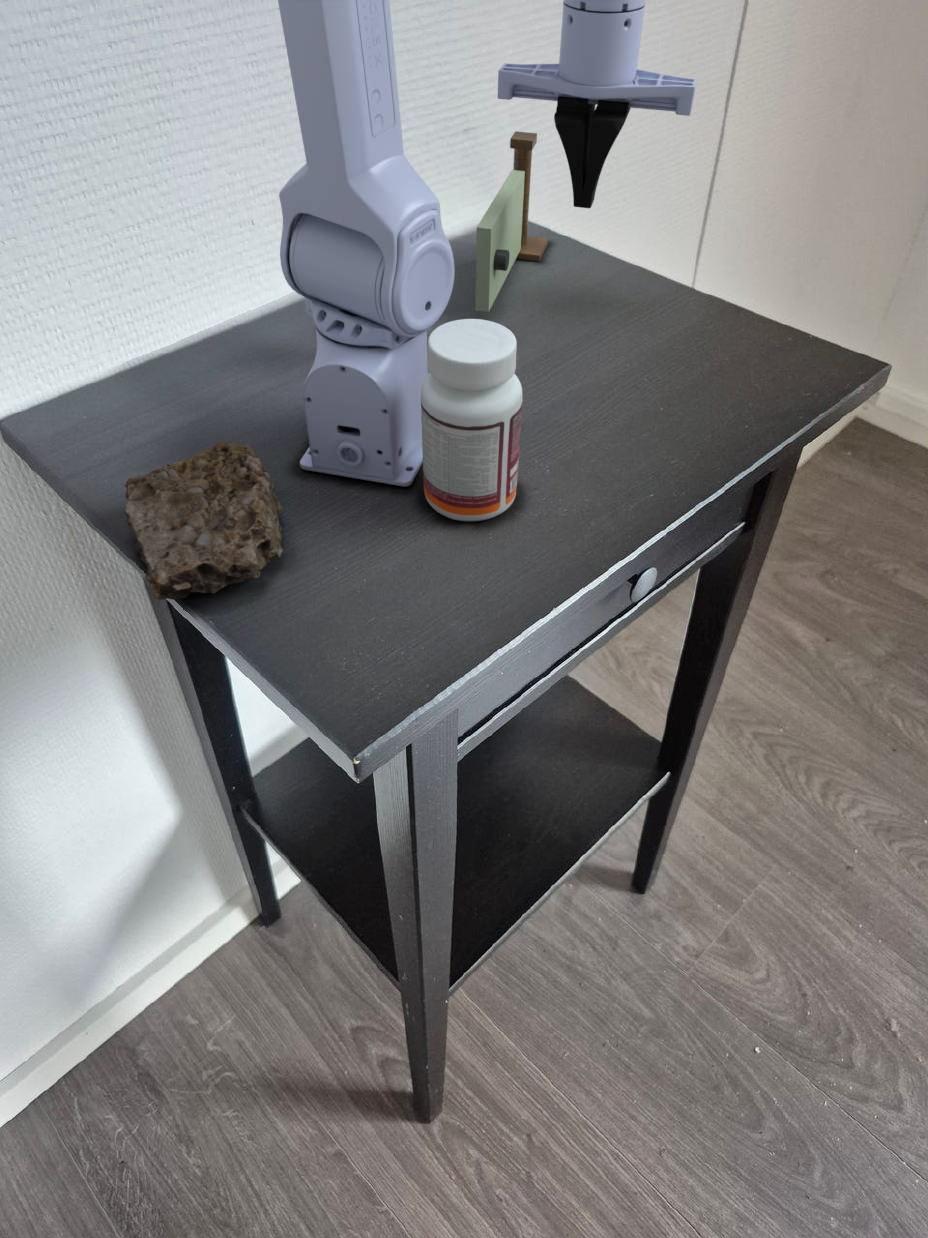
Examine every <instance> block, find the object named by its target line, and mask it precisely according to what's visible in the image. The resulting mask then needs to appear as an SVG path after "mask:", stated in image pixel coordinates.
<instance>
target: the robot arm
mask: <svg viewBox="0 0 928 1238" xmlns="http://www.w3.org/2000/svg"><path fill="white" fill-rule="evenodd" d="M646 2H647V1H646V0H563V3H562V5H563V6H562V16H561V17H562V18H561V29H560V30H561V31H560V44H559V56H558V63H503V64H502V65H501V67H499V69H498V71H497V73H498V74H497V99H498V100H509V101H510V100H512V99H513V98H519V99H530V100H540V101H541V100H542V101H552V102H556V109H555V112H554V115H553V120H554V125H555V129H556V132H557V134H558V136H559V139H560V141H561V144H562V147H563V149H564V153H565V156H566V161H567V165H568V168H569V173H570V174H569V175H570V179H571V185H572V196H573V208H574V207H575V208H582V209H591V208H592V206H593V204H594V201H595V197H596V191H597V187H598V184H599V180H600V177H601V174H602V171H603V167H604V165H605V163H606V160H607V157H608V155H609V153H610V152H611V149H612V147H613V145H614V143H615V142H616V139H617V138H618V136H619V134H620V132H621V130H622V129H623V127H624V125H625V123H626V120H627V119H628V116H629V113H630V111H631V109H643V110H652V111H653V110H654V111H664V112H675V115H678V116H687V117H690V116H691V114H692V111H693V105H694V102H695V101H694V99H695V94H696V89H697V83H698V79H697V78H689V77H681V76H675V75H669V74H664V73H658V72H653V71H648V70H643V69H638V61H639V53H640V48H641V47H640V46H641V39H642V38H641V37H642V31H643V22H644V14H645V7H646ZM277 3H278V8H279V15H280V20H281V25H282V26H281V27H282V32H283V37H284V42H285V48H286V55H287V59H288V65H289V71H290V76H291V77H290V78H291V82H292V88H293V94H294V99H295V103H296V104H295V106H296V111H297V115H298V122H299V127H300V133H301V139H302V144H303V145H302V146H303V150H304V155H305V161H306V163H305V164H304V165H302V166H301V167H300V169H298V170H297V171H295V173H294V174H293V175H291V177H290V178H289V180H287V182H286V183H285V184H284V186H283V187H282V188H281V189H280V191H279V193H278V197H279V202H280V207H281V214H282V215H281V216H282V230H281V238H280V244H279V245H280V248H279V258H280V259H279V260H280V267H281V271H282V273H283V277H284V279H285V281H286V283H287V284H288V286H289V287H290V289H291V290H292V291H294V292H295V293H297V294H298V295H299V296H302V297H303V298H304V306H305V314H306V315H307V316H309V317H311V318H312V319H313V321H314V326H315V334H316V335H315V336H316V353H315V358H314V361H313V364H312V366H311V368H310V370H309V372H308V374H307V376H306V377H305V380H304V383H303V387H302V403H303V410H304V416H305V423H306V430H307V437H308V444H309V446H308V448H307V449H306V451H305V453H303V455H302V457H301V458H300V460H299V466H300V469H302V470H304V471H310V472H314V473H315V472H316V473H321V474H327V475H332V476H338V477H339V476H340V477H344V478H345V477H346V478H350V479H358V480H362V481H369V482H375V483H380V484H386V485H394V486H399V487H404V488H405V487H409V486H411V485H412V484H413V483H414V480H415V478H416V476H417V474H418V472H419V470H420V468H421V466H422V465H423V452H422V450H423V449H422V420H421V387H422V384H423V381H424V379H425V377H426V376H427V374H428V373H429V369H428V330H429V329H431V328H432V327H433V326H434V325H435V323H436V322H437V321H438V320H439V319H440V317H441V316H442V315H443V313H444V312H445V310H446V308H447V306H448V304H449V301H450V299H451V296H452V293H453V288H454V283H455V274H456V273H455V271H456V270H455V259H454V253H453V250H452V246H451V244H450V242H449V240H448V238H447V236H446V234H445V231H444V228H443V224H442V215H441V203H440V201H439V199H438V198H437V196H436V194H434V192H433V191H432V189H431V188H430V187H429V186H428V184H427V183H426V181H425V180H424V179H423V178H422V177H421V176H420V174H419V173H418V172H417V171H416V169H415V168H414V167H413V166H412V164H411V162H410V161H408V159H407V158H406V156H405V152H404V141H403V131H402V121H401V120H402V119H401V110H400V109H401V108H400V99H399V88H398V79H397V77H398V76H397V69H396V68H397V66H396V57H395V47H394V46H395V45H394V37H393V27H392V16H391V5H390V0H277Z"/></svg>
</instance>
